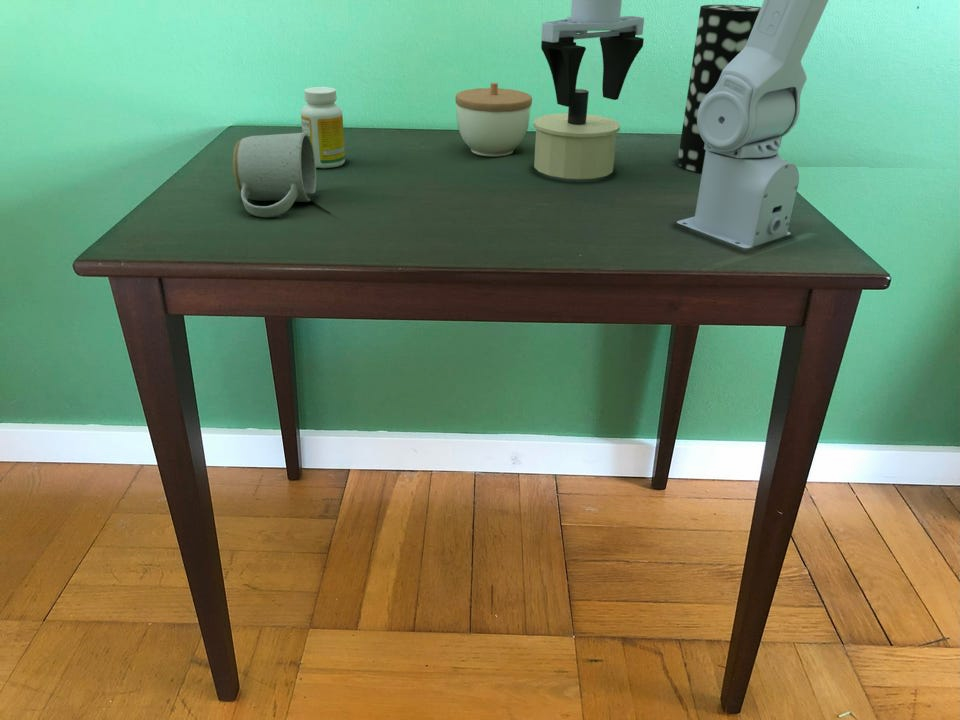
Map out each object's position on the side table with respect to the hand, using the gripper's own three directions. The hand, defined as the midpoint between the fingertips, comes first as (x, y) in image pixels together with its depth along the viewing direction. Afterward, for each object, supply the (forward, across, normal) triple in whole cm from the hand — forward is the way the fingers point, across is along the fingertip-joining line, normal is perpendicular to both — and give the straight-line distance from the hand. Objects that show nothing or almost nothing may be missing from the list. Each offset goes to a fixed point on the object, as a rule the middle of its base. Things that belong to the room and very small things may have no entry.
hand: (588, 101), depth 94 cm
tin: (+10, -2, -4) cm, 11 cm away
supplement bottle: (+10, +24, -25) cm, 36 cm away
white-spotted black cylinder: (+10, -20, +4) cm, 23 cm away
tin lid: (+4, -2, -4) cm, 6 cm away
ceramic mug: (+10, +36, -13) cm, 39 cm away
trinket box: (+10, +1, -18) cm, 21 cm away
